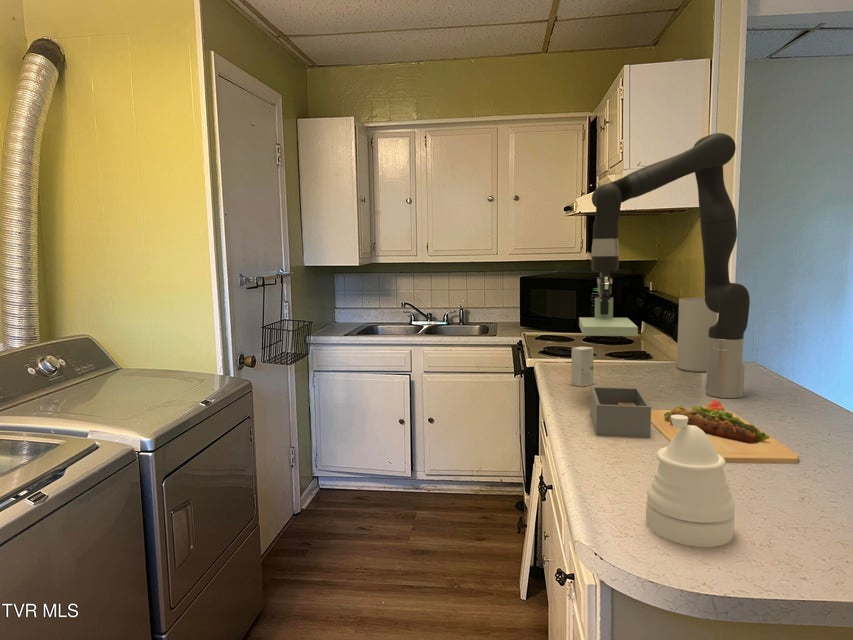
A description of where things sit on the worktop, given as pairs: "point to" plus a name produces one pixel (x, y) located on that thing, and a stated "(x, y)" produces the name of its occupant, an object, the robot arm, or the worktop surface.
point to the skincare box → (582, 366)
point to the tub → (620, 412)
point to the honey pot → (690, 491)
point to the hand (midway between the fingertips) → (603, 313)
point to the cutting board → (727, 434)
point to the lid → (607, 323)
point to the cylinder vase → (694, 334)
